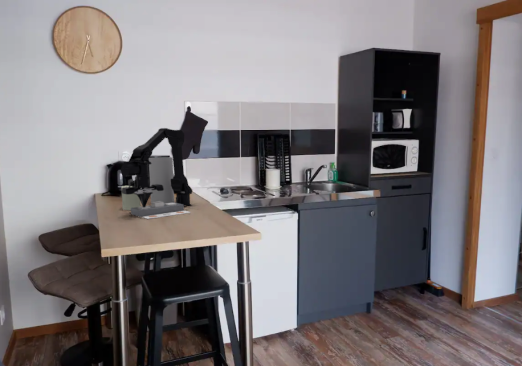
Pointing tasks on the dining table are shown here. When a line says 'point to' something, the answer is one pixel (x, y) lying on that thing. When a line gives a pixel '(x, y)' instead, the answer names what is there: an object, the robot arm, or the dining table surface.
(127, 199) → the can
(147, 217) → the pattern card
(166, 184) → the cylinder vase
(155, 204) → the button middle
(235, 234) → the dining table surface
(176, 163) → the robot arm
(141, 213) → the button board
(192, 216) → the dining table surface
